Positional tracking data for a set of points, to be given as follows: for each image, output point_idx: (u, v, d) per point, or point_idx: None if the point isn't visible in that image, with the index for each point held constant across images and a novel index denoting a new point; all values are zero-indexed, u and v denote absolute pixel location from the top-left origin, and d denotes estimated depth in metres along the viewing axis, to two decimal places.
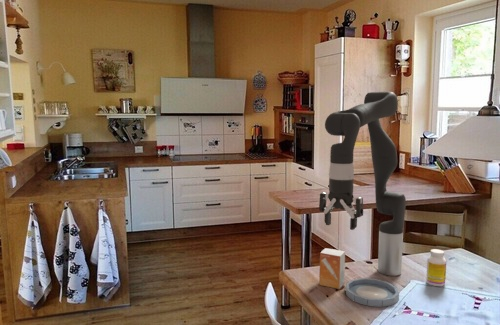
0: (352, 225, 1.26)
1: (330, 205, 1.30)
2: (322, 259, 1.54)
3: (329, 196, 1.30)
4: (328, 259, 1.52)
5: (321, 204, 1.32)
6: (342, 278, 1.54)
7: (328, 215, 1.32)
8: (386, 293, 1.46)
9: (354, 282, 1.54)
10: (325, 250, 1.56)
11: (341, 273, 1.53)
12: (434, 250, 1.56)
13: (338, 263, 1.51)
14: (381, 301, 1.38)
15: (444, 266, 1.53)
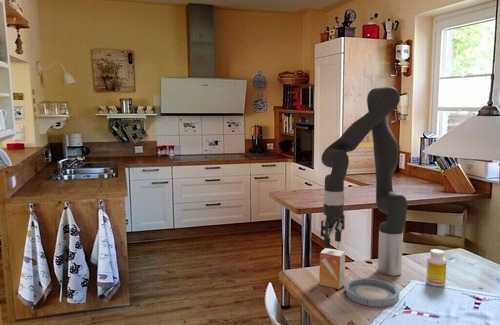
0: None
1: (333, 228, 1.50)
2: (322, 259, 1.54)
3: (331, 221, 1.50)
4: (328, 259, 1.52)
5: (327, 231, 1.48)
6: (342, 278, 1.54)
7: None
8: (386, 293, 1.46)
9: (354, 282, 1.54)
10: (325, 250, 1.56)
11: (341, 273, 1.53)
12: (434, 250, 1.56)
13: (338, 263, 1.51)
14: (381, 301, 1.38)
15: (444, 266, 1.53)
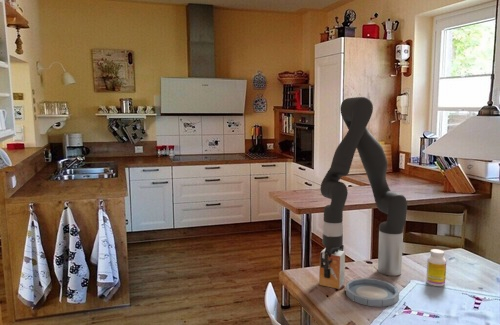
0: None
1: None
2: None
3: (330, 252, 1.51)
4: (328, 259, 1.52)
5: (327, 263, 1.50)
6: (342, 278, 1.54)
7: None
8: (386, 293, 1.46)
9: (354, 282, 1.54)
10: None
11: (341, 273, 1.53)
12: (434, 250, 1.56)
13: (338, 263, 1.51)
14: (381, 301, 1.38)
15: (444, 266, 1.53)
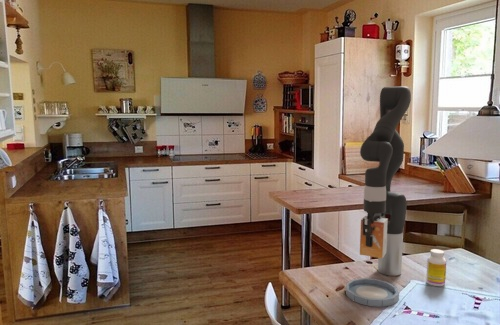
0: None
1: None
2: None
3: (373, 218, 1.40)
4: None
5: (370, 229, 1.39)
6: (385, 247, 1.43)
7: None
8: (386, 293, 1.46)
9: (354, 282, 1.54)
10: (366, 217, 1.45)
11: (384, 241, 1.42)
12: (434, 250, 1.56)
13: (381, 230, 1.40)
14: (381, 301, 1.38)
15: (444, 266, 1.53)
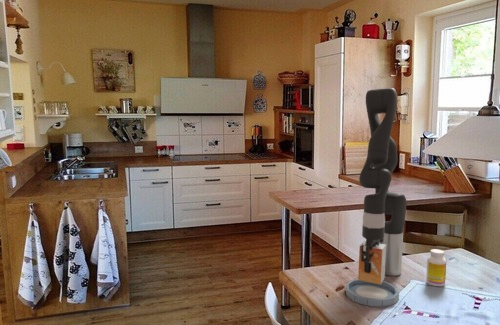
0: None
1: None
2: None
3: (371, 245, 1.42)
4: None
5: (368, 256, 1.40)
6: (383, 273, 1.45)
7: None
8: (386, 293, 1.46)
9: (354, 282, 1.54)
10: (364, 243, 1.46)
11: (382, 267, 1.43)
12: (434, 250, 1.56)
13: (379, 257, 1.41)
14: (381, 301, 1.38)
15: (444, 266, 1.53)
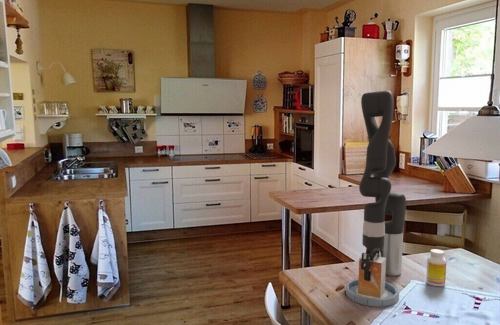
0: None
1: None
2: None
3: (372, 253, 1.42)
4: None
5: (368, 264, 1.40)
6: (383, 286, 1.45)
7: None
8: (386, 293, 1.46)
9: (354, 282, 1.54)
10: None
11: (382, 281, 1.43)
12: (434, 250, 1.56)
13: (379, 270, 1.41)
14: (381, 301, 1.38)
15: (444, 266, 1.53)
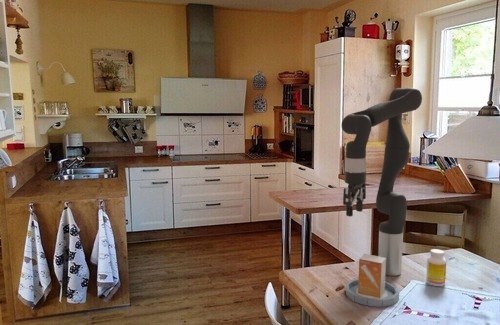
0: None
1: (356, 197, 1.46)
2: (362, 266, 1.44)
3: (353, 189, 1.45)
4: (368, 266, 1.43)
5: (350, 199, 1.43)
6: (383, 286, 1.45)
7: None
8: (386, 293, 1.46)
9: (354, 282, 1.54)
10: (364, 256, 1.47)
11: (382, 281, 1.43)
12: (434, 250, 1.56)
13: (379, 270, 1.41)
14: (381, 301, 1.38)
15: (444, 266, 1.53)
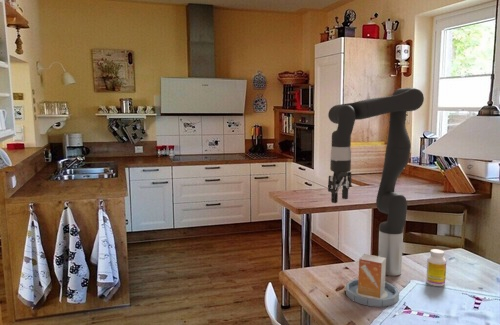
0: None
1: (340, 184, 1.51)
2: (362, 266, 1.44)
3: (338, 177, 1.50)
4: (368, 266, 1.43)
5: (335, 186, 1.49)
6: (383, 286, 1.45)
7: None
8: (386, 293, 1.46)
9: (354, 282, 1.54)
10: (364, 256, 1.47)
11: (382, 281, 1.43)
12: (434, 250, 1.56)
13: (379, 270, 1.41)
14: (381, 301, 1.38)
15: (444, 266, 1.53)
